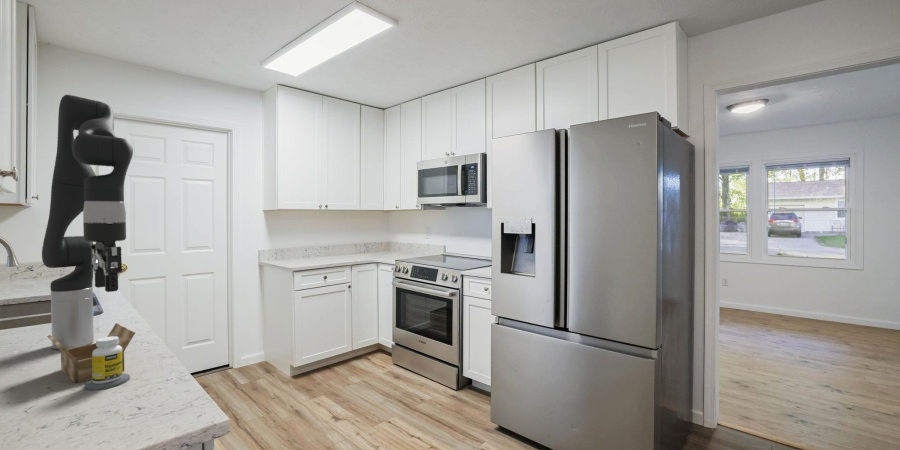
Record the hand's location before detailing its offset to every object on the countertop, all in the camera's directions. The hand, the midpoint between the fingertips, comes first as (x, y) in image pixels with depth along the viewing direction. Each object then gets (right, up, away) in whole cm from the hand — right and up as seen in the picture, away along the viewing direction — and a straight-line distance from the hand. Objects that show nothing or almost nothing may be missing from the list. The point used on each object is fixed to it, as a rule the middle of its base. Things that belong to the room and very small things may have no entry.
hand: (106, 289), depth 92 cm
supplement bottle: (0, -22, 0) cm, 22 cm away
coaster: (+1, -22, 0) cm, 22 cm away
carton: (-10, -22, +7) cm, 25 cm away
